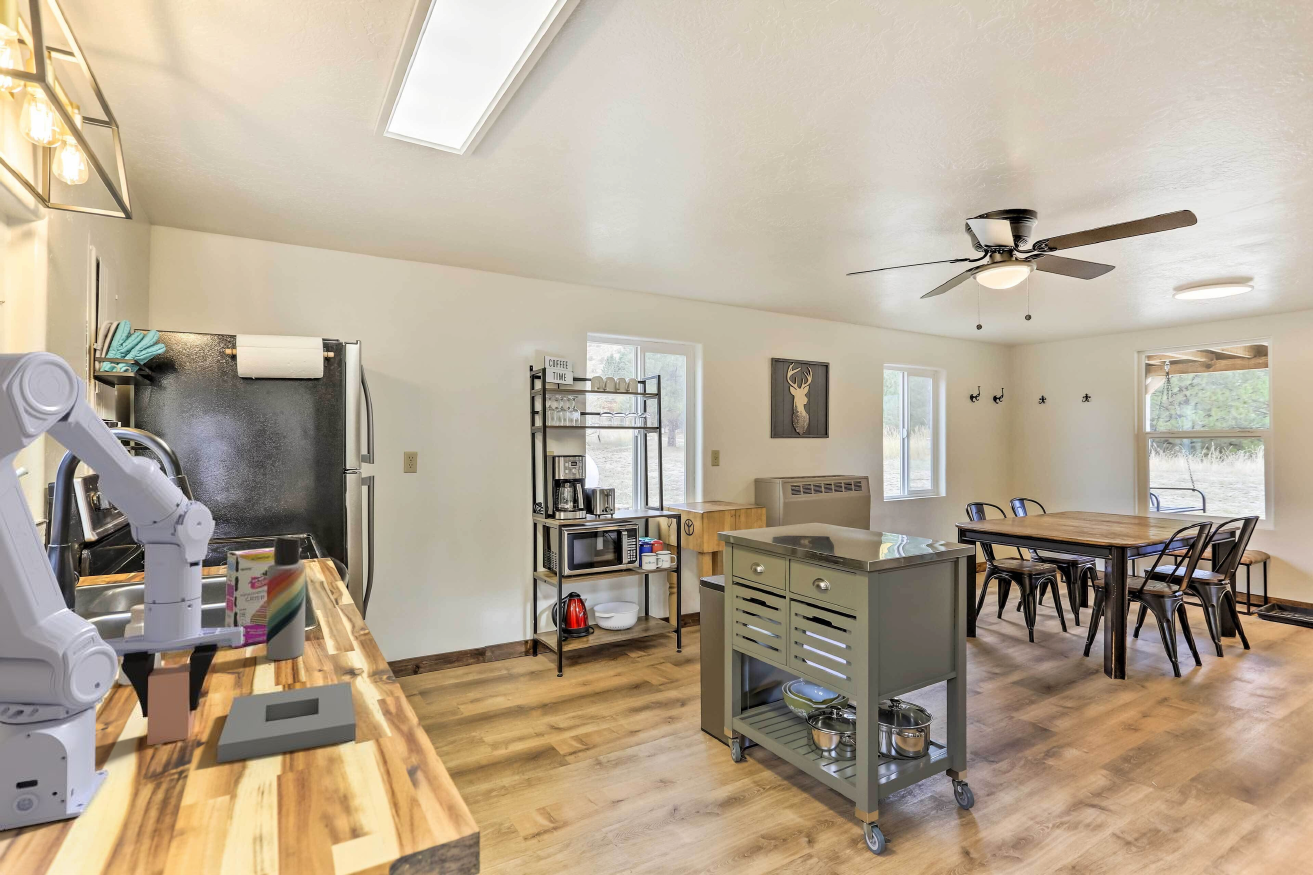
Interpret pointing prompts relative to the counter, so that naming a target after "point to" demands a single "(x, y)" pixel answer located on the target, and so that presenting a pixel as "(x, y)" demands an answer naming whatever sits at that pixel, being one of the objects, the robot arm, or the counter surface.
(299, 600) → the lotion bottle
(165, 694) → the terracotta peg
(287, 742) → the socket block
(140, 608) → the pepper shaker
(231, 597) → the candy bar box
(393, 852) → the counter surface
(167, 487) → the robot arm
